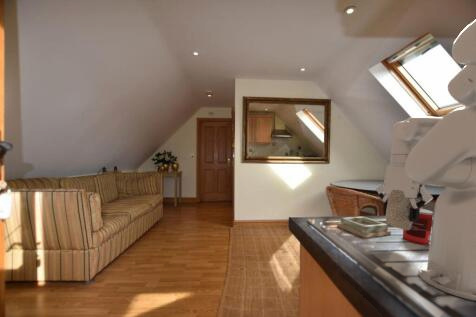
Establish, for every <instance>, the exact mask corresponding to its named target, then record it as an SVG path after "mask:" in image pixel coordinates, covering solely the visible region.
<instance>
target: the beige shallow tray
mask: <svg viewBox="0 0 476 317" xmlns="http://www.w3.org/2000/svg"><path fill="white" fill-rule="evenodd" d="M336 226H337V227H338V228H340V229H343V230H345V231H347V232H350V233H352V234H355V235H357V236H360V237H362V238H365V239H366V238H374V237H375V238H376V237H382V236H390V235H391V234H392V231H391V230H389V224H388V223H384V222H381V221H378V220H375V219H372V218H369V217H366V216H349V217H348V216H347V217H341V218H340V222H338V223H337V225H336Z"/></svg>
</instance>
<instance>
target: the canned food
mask: <svg viewBox="0 0 476 317" xmlns="http://www.w3.org/2000/svg"><path fill="white" fill-rule="evenodd" d="M433 215H434V211H432V210H429V209H425V208H420V213H419V219H418V221H416V222H413V223H412V225H411V228H410V230H404V229H402V238H403V239H404V240H405V241H407V242H409V243H413V244H415V245H422V246H428V245H430V239H431V231H432V223H433Z"/></svg>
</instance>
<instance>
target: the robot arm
mask: <svg viewBox="0 0 476 317" xmlns="http://www.w3.org/2000/svg"><path fill="white" fill-rule="evenodd" d="M451 57H452V59H453V60H454V61H455V62H456V63H458V64H460V65H465V66H464V67H462V68H461V69H460V70H459V72H458V73H456V75H455V76H454V77H452V79H451V80H449V82H448V84H447V90H448V93H449V95H450V96H451V97H452V99H453V100H455V101H456V102H458V103H459V104H461V105H462V106H460V107H458V108H456V109H453V110H451V111H449V112H448V113H447V114H445V115H444V116H443V117H440V116H438V117H437V116H424V115H422V116H421V115H415V116H409V118H407V119H405V120H403V121H398V122H395V123H394V125H393V127H392V128H393V129H392V139H391V140H392V141H391V151H390V164H388V165H387V167H386V170H385V173H384V180H383V184H381V185H379V186H378V187H377V188H375V190H376V192H377V193H378V196H379V197H380V199H381V202H383V208H382V209H383V210H382V211H383V215H384V216H386V209H387V203H388V198H389V194H390V193H391V191H392V190H400V191H403V192H404V194H405V195H403V196H405V197H406V198H408V199H409V200H410V202H411V204H412V208H410V216H409V221H411V222H416V221H418V219H419V213H420V208H421V209H423V207H425V206H426V205H428V203H430V202H431V201H432V200H433V199H434V197H433V195H431V194H430V193H429V192H428V191H427V190H426V189H425V188H426V187H425V186H432V187H442V188H444V189H443V190H442V192H441V193H440V194H439V195H438V197H437V199H436V201H435V203H434V210H433V220H432V228H431V235H430V242H429V250H428V255H427V256H428V258H427V265H424V266H423V265H422V266H420V267H419V268H418V271H417V273H418V276H419V277H420V278H421V279H422V280H423V282H425V283H427V284H428V285H430V286H432V287H434V288H436V289H437V290H438V289H439V290H440V291H443V292H445V293H447V294H450V295H451V296H452V295H453V296H455V297H458V298H463V299H465V300H470V301H475V302H476V19H475V20H473V21H472V22H471V23H470V24H468V25H467V26H466V27H465V28H464V29H463V30H462V31H461V32H459V35H458V36H457V38H456V39H455V40H454V42H453V45H452V49H451Z"/></svg>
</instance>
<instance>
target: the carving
mask: <svg viewBox="0 0 476 317" xmlns="http://www.w3.org/2000/svg"><path fill="white" fill-rule="evenodd" d="M403 195H405V194H404V192H403V191H400V190H392V191H391V193H390V194H389V198H388V203H387V209H386V215H385V220H386V224H388V226H392V227H394V228H396V229H399V230H400V229H401V230H403V229H404V230H410V228H411V225H412V223H413V222H411V221H409V216H410V208H412V204H411V202H410V200H409V199H408V198H406V197H405V196H403Z"/></svg>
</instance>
